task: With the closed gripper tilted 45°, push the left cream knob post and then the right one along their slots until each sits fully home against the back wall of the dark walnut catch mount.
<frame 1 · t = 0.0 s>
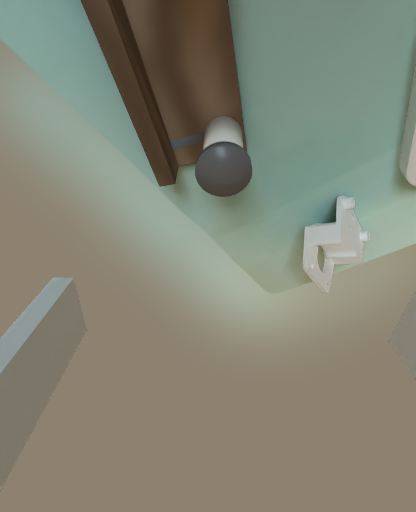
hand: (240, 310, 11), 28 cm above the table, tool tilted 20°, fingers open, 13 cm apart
mounting bracket: (328, 226, 45), on the table
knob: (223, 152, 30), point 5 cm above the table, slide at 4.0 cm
catch mount: (173, 35, 27), on the table
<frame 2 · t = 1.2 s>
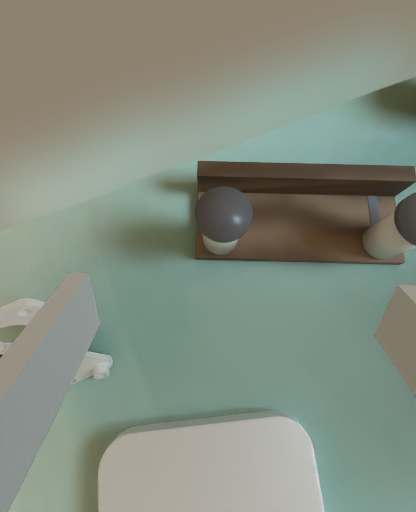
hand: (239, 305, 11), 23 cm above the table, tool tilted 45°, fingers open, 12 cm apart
mounting bracket: (59, 350, 33), on the table
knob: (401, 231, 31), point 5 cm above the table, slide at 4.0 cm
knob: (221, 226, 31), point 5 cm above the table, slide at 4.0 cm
catch mount: (295, 221, 37), on the table
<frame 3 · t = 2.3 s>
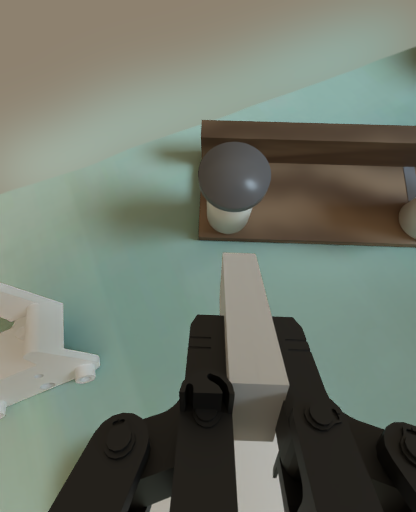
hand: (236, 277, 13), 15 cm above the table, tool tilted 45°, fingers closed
mounting bracket: (36, 347, 27), on the table
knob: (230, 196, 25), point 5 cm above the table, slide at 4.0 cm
catch mount: (316, 197, 31), on the table
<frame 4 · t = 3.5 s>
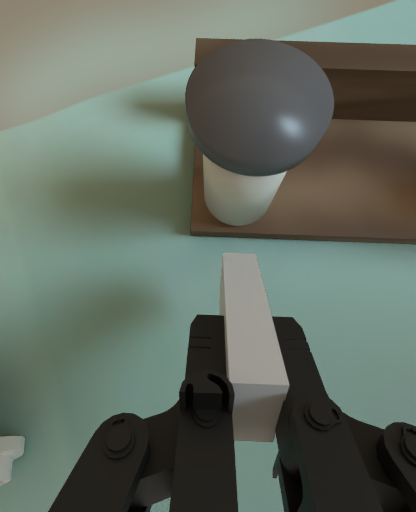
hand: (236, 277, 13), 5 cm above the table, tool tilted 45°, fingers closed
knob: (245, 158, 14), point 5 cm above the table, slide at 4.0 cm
catch mount: (372, 170, 20), on the table
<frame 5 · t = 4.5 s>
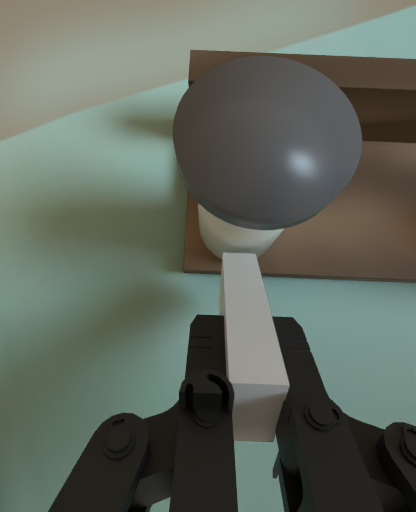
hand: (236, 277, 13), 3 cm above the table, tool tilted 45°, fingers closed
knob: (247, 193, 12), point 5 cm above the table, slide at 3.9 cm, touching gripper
catch mount: (388, 198, 18), on the table
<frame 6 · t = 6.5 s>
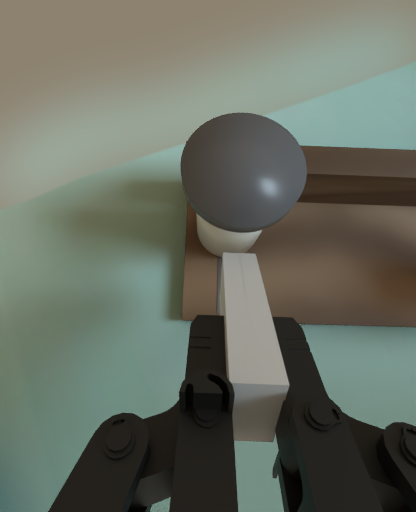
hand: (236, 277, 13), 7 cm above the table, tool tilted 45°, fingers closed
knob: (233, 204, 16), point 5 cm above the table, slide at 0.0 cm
catch mount: (355, 251, 21), on the table
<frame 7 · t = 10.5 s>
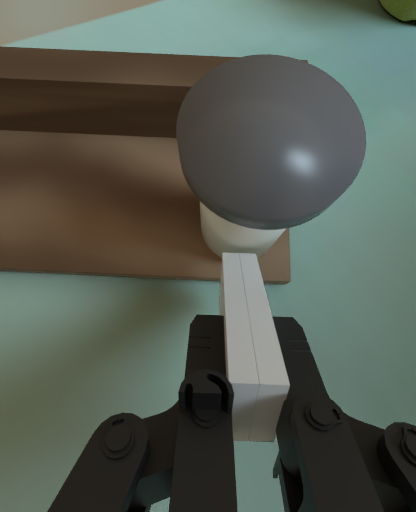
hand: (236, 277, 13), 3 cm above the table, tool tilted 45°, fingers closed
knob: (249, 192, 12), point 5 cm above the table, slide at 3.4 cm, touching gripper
plant pot: (411, 1, 23), on the table
catch mount: (83, 190, 18), on the table
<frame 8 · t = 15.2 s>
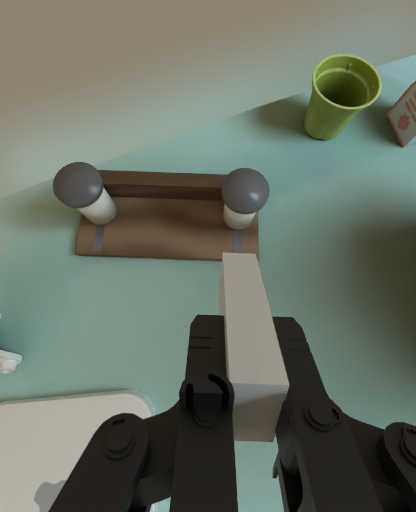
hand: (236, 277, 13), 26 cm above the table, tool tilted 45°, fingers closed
gable top carton: (403, 129, 46), on the table
computer: (67, 492, 33), on the table
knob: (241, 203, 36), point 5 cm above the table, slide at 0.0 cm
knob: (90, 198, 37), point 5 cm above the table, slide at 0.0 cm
plant pot: (320, 126, 46), on the table
catch mount: (170, 223, 41), on the table
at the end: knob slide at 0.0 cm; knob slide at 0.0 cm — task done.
